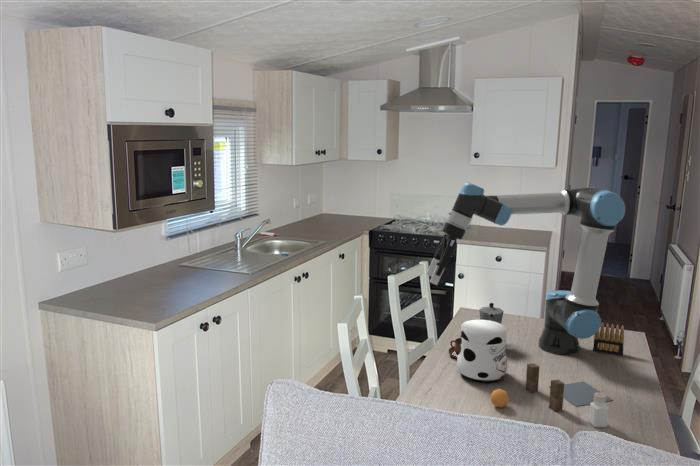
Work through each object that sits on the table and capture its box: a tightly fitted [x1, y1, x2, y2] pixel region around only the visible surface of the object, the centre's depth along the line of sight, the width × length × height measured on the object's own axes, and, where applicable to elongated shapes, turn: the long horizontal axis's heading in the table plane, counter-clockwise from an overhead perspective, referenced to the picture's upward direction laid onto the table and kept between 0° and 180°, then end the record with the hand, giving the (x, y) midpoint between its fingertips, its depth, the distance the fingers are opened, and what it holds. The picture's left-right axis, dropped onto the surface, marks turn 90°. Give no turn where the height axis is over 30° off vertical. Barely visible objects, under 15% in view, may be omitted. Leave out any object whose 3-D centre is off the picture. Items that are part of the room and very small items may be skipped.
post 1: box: [525, 362, 540, 394], centre depth 187 cm, size 3×3×9 cm
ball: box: [490, 388, 510, 408], centre depth 176 cm, size 6×6×6 cm
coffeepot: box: [478, 302, 504, 324], centre depth 225 cm, size 15×9×18 cm, turn 167°
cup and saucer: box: [448, 337, 461, 359], centre depth 215 cm, size 12×12×6 cm
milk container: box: [456, 319, 508, 383], centre depth 198 cm, size 17×17×18 cm
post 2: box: [548, 379, 565, 412], centre depth 174 cm, size 3×3×9 cm
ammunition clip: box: [592, 322, 625, 356], centre depth 218 cm, size 11×2×12 cm, turn 65°
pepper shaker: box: [588, 392, 609, 428], centre depth 165 cm, size 4×4×10 cm
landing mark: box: [548, 380, 614, 408], centre depth 185 cm, size 14×14×1 cm
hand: (431, 279), depth 201 cm, fingers open, 13 cm apart
